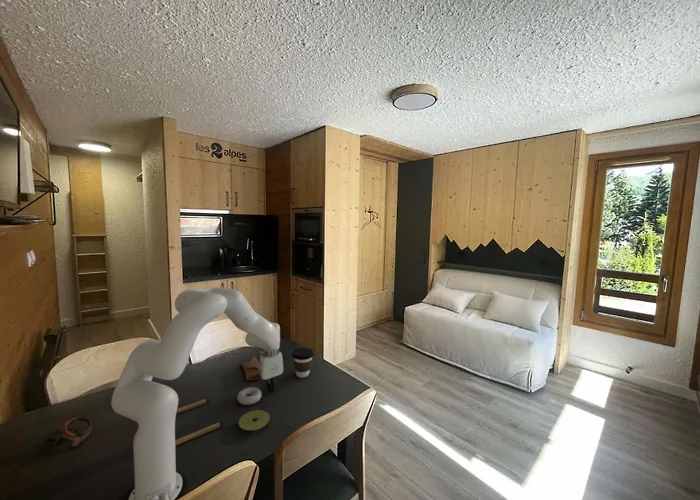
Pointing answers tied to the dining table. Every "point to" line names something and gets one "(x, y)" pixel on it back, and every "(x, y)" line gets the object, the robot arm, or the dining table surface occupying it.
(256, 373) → the sunglasses case
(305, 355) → the coffee cup
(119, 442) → the dining table surface
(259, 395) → the donut
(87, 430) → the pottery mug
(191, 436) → the frame
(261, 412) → the mat
